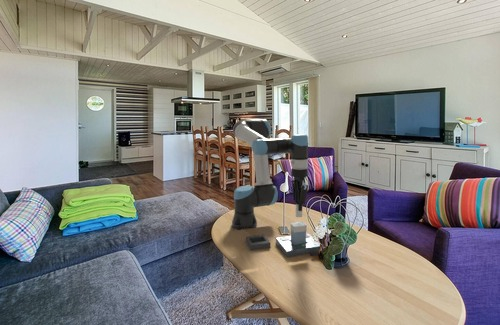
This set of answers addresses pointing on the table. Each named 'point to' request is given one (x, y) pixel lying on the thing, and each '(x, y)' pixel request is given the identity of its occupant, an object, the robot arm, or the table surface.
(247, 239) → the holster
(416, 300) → the table surface
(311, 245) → the port panel
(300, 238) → the plug
